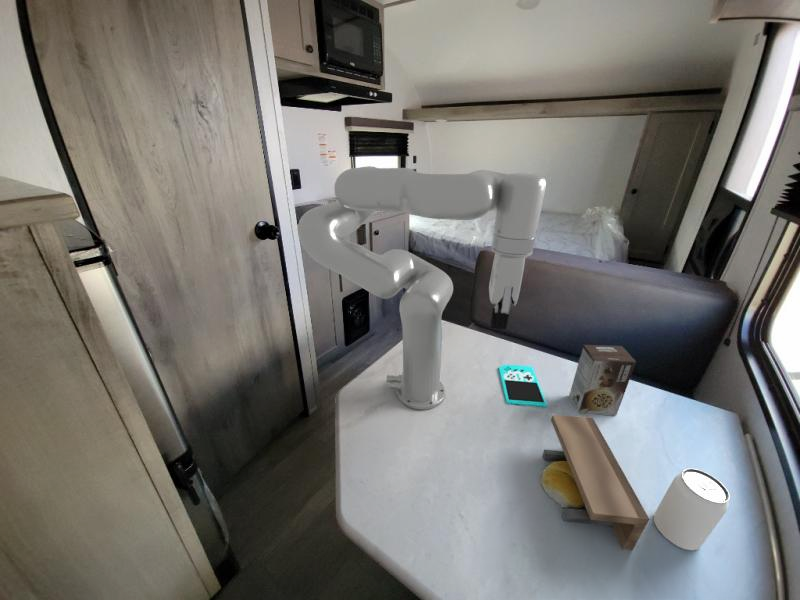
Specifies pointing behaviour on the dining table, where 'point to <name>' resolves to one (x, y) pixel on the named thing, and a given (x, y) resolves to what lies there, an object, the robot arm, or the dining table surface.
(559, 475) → the bread roll
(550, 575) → the dining table surface
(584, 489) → the overhang shelf
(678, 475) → the can
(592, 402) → the coffee box
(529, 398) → the handheld game console
